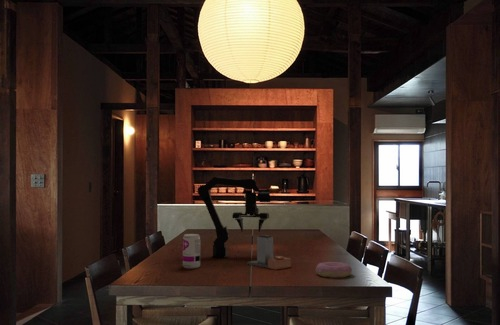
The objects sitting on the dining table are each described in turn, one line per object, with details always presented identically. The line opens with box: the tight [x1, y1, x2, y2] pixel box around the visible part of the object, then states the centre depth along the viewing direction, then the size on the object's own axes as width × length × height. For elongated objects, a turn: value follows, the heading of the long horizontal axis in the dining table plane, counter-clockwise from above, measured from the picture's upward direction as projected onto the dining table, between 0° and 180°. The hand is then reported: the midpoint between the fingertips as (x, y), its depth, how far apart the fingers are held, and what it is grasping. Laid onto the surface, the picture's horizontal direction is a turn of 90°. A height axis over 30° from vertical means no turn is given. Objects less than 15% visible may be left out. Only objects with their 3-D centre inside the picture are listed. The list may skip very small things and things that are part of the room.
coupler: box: [247, 255, 292, 271], centre depth 239 cm, size 19×10×5 cm, turn 43°
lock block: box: [256, 234, 274, 264], centre depth 241 cm, size 6×6×13 cm
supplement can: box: [182, 233, 201, 269], centre depth 236 cm, size 8×8×15 cm
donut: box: [315, 261, 352, 279], centre depth 217 cm, size 16×15×5 cm
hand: (250, 232), depth 266 cm, fingers open, 9 cm apart
